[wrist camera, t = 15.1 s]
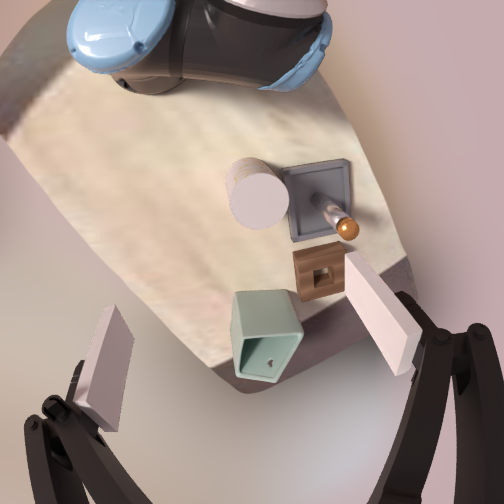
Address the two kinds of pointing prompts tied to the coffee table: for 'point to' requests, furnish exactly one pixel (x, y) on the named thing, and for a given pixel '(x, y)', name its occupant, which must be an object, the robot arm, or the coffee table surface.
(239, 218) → the white cylinder
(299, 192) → the tray
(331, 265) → the block
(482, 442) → the robot arm
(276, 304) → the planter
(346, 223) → the pin
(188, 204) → the coffee table surface
